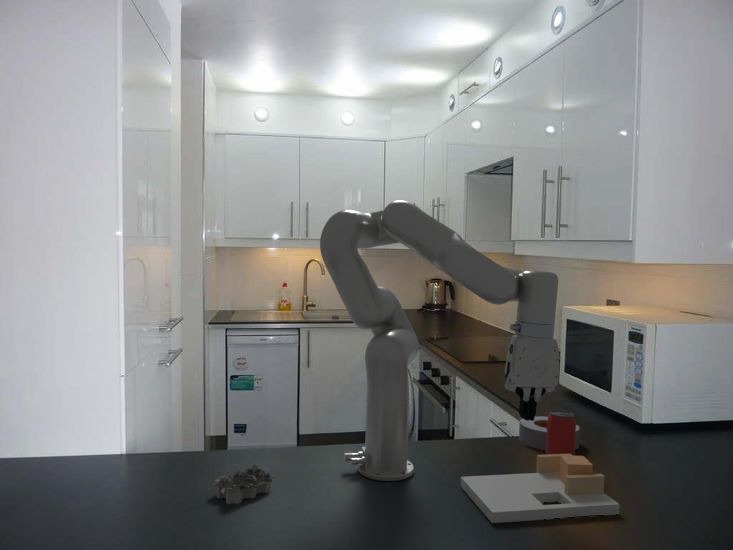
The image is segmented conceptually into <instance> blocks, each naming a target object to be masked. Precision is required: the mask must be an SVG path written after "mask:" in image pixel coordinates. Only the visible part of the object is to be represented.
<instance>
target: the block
mask: <svg viewBox="0 0 733 550" xmlns="http://www.w3.org/2000/svg"><path fill="white" fill-rule="evenodd" d="M593 470H594V464H593V463H592V462H590V460H588V459H587V457H585V456H584V455H575V456H569V455H560V463H559V479H560V480H561V482H562V483H563V484H564V485H565V476H566V475H585V474H594V471H593Z"/></svg>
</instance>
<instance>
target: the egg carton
mask: <svg viewBox="0 0 733 550" xmlns="http://www.w3.org/2000/svg"><path fill="white" fill-rule="evenodd" d="M274 479H276V478H275V476H271V474H270V473H269V472H267V471H265V470H264V469H263V468H260V467H259V466H258V465H256V464H253V465H252V466H250V467H248V468H247V469H246V468H245V469H242V470H237V471H236V472H233V473H230V474H228V475H219V476H218V477H216V479H215V480H214V481H213V485H215V486H216V488H215V489H216V492H215V496H216V498H217V499H223V498H224V499H225V503H226V504H228V505H231V504H237V505H238V504H241V503H242V502H243V500H244V499H247V498H248V499H254V498H256V497H257V496H256V495H257V494H260V493H261V494H262V493H264V494H267V493H268V494H269V493H270V489H272V488H271V487H272V483H273V480H274Z"/></svg>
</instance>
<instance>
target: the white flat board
mask: <svg viewBox="0 0 733 550" xmlns="http://www.w3.org/2000/svg"><path fill="white" fill-rule="evenodd" d="M560 455H569V456H573V455H571V454H548V455H546V454H536V466H535V467H536V468H535V469H536V471H535V472H532V473H530V472H529V473H511V474H510V473H509V474H490V475H471V476H469V475H468V476H460V488H461V489H462V490H463V491H464V492H465V493H466V495H467V496H468V497H469V498H470V499H471V501H472V502H474V504H475V505H476V506H477V507H478V509H480V511H481V512H482V514H484V516H485V517H486V518H487V519H488V521H490V523H491V524H500V523H501V524H502V523H512V522H513V523H514V522H515V523H517V522H527V521H528V522H529V521H542V520H544V519H546V520H555V519H554V518H560V519H563V518H562V517H573V516H588V515H604V516H615V515H616V514H618V515H620V503H618V502H617V501H616V500H614V499H612V498H611V497H610V496H608V495H607V494H606V493H605V475H604V474H602V473H593V474H585V475H566V476H565V485H564V484H563V483H562V482H561V480H560V479H559V463H560ZM556 501H557V502H556ZM544 502H547V503H558V504H545V503H544ZM560 503H561V504H560Z"/></svg>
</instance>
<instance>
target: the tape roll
mask: <svg viewBox="0 0 733 550" xmlns="http://www.w3.org/2000/svg"><path fill="white" fill-rule="evenodd" d="M547 419H548V416H535V417H534V421H531V420H529V421H526V420H525V419H523V418H521V419H520V420H519V425H518V426H519V429H518V440H519V442H520V441H521V443H522V444H523V443H524V444H523V445H524V446H527V447H529V446H530V447H529V448H532V447H533V449H535V448H536V449H535V450H539V449H540V450H539V451H543V450H545V452H546V435H547ZM580 431H581V430H580V426H579V425H577V424H576V436H575V451H576V449H577V450H578V449H579V448H580V433H581V432H580Z"/></svg>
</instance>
